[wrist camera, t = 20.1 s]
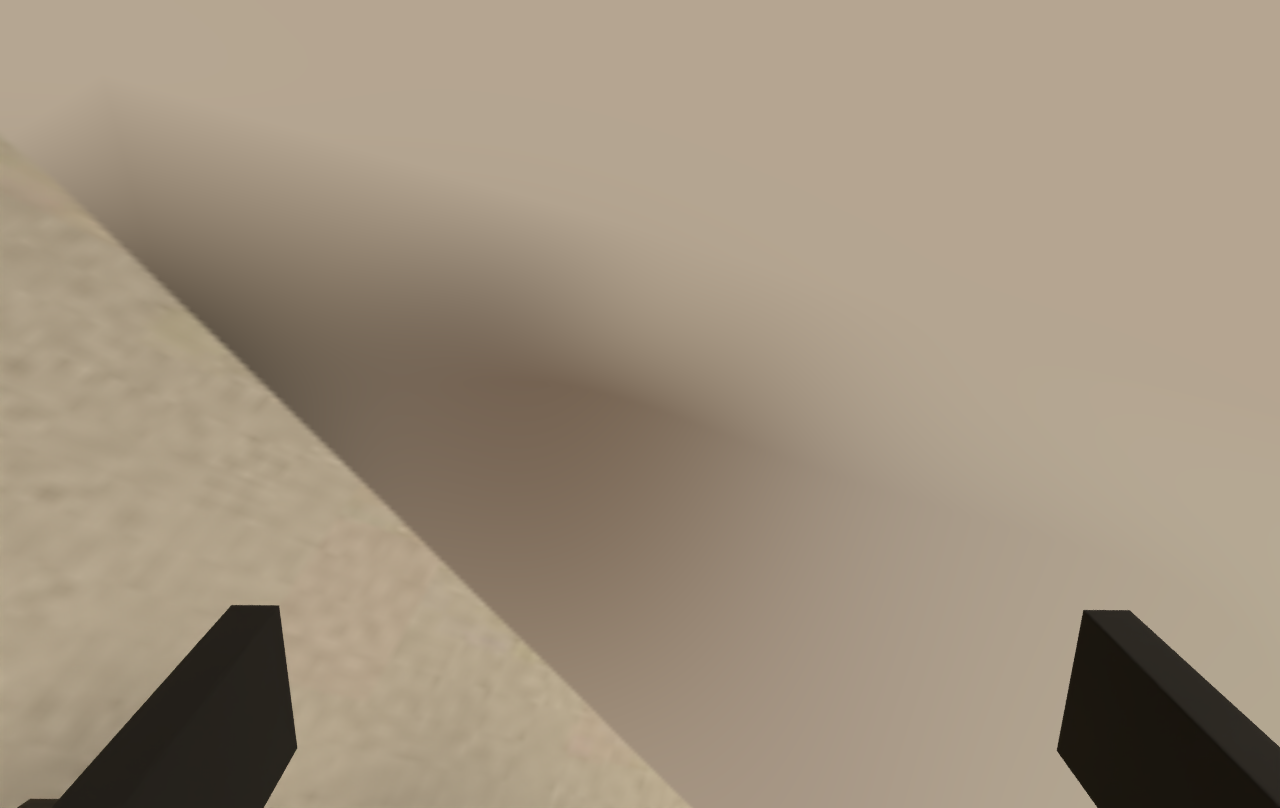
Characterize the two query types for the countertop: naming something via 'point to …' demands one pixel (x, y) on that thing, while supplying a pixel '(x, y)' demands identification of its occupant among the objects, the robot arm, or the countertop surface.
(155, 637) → the countertop surface
